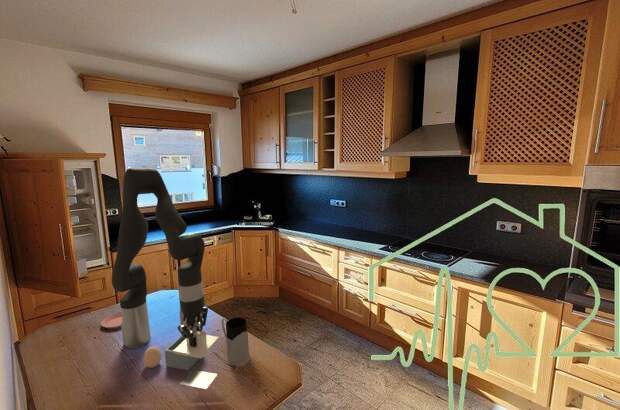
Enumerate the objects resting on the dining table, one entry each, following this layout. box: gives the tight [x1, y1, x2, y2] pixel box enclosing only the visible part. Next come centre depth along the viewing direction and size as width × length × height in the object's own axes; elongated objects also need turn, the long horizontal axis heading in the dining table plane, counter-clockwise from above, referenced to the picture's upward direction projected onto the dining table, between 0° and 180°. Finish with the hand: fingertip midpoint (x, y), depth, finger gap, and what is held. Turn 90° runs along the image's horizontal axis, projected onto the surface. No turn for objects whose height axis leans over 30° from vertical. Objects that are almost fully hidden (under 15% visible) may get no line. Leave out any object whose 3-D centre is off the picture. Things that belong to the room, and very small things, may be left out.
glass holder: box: [221, 316, 251, 368], centre depth 116 cm, size 9×14×15 cm, turn 48°
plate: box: [100, 311, 122, 330], centre depth 143 cm, size 14×14×2 cm
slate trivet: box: [179, 369, 219, 390], centre depth 105 cm, size 10×7×1 cm
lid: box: [173, 330, 220, 359], centre depth 102 cm, size 10×10×5 cm
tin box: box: [164, 335, 200, 371], centre depth 114 cm, size 9×9×7 cm
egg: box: [142, 346, 162, 369], centre depth 112 cm, size 6×6×8 cm
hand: (196, 343), depth 102 cm, fingers closed on lid, 2 cm apart
